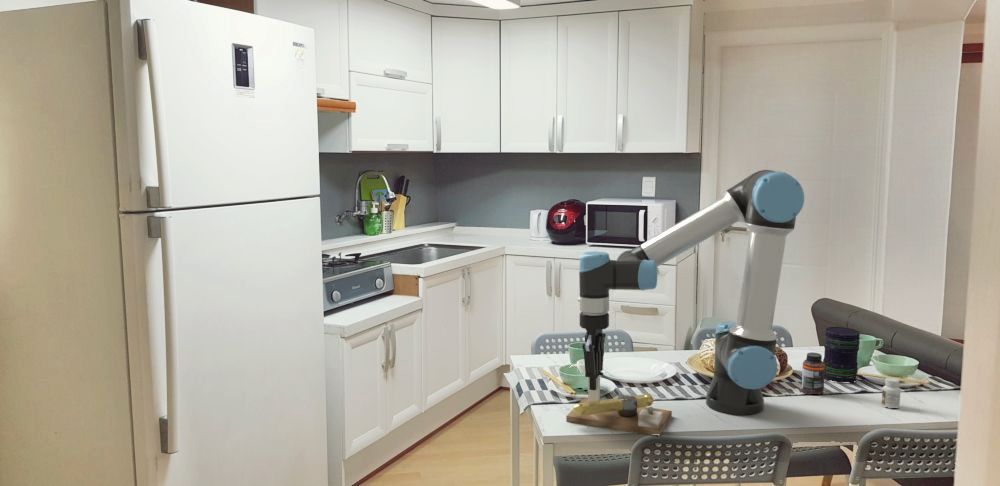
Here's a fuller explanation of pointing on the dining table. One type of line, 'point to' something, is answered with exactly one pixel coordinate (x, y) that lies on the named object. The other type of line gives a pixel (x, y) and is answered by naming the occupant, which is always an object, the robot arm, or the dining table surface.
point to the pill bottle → (891, 393)
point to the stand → (626, 420)
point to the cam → (614, 405)
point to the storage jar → (841, 354)
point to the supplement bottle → (813, 374)
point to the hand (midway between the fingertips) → (594, 400)
